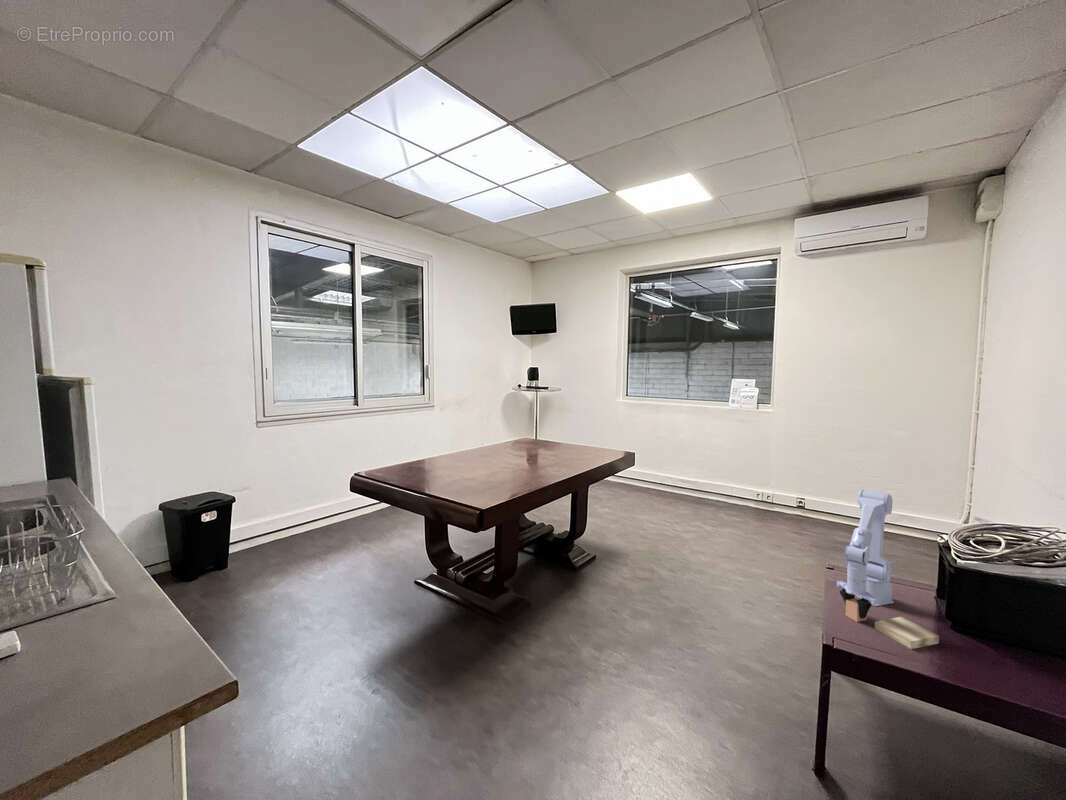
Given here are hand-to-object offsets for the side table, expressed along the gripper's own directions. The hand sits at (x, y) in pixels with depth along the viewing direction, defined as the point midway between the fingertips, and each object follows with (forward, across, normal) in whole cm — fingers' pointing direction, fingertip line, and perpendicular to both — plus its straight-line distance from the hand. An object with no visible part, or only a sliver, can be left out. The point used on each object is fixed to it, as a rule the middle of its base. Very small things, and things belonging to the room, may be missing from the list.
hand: (856, 613), depth 161 cm
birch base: (+2, +13, +6) cm, 14 cm away
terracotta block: (+1, 0, 0) cm, 1 cm away
